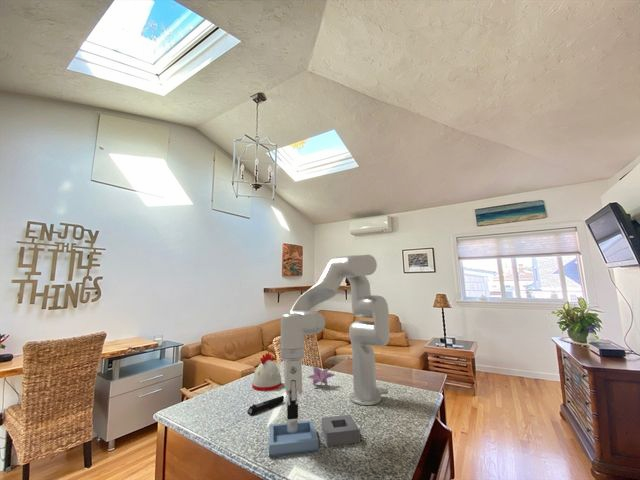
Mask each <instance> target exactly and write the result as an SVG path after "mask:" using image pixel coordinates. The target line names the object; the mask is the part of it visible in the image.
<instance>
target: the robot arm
mask: <svg viewBox="0 0 640 480" xmlns="http://www.w3.org/2000/svg"><path fill="white" fill-rule="evenodd" d="M377 264H378V263H377V260H376V258H375V257H374V256H373V255H372V254H361V255H360V254H358V255H357V254H356V255H355V254H354V255H344V256H342V255H341V256H335V257H332V258H331V259H329V261H327V263H326V265H325V266H324V269H323V271H322V272H321V274H320V276H319V278H318V280H316V283H315V284H314V285H313V286H311V287H310V288H309V289H307V290H306V291H305V292H304V293H302V294H301V295H300V296H299V297H298V299H297V300H296V301H295V302H294V304H293V305H292V307H291V309H290V310H289V312H287V313H283V314H281V317H280V360H282V361H284V363H283V365H284V366H283V368H284V370H283V372H284V374H283V375H284V387H285V392H286V396H287V395H288V404H287V403H286V420H287V419H297V420H298V419H299V403H298V394H300V395H302V394H303V379H302V378H303V377H302V376H303V373H302V372H303V371H302V360H303V359H305V337H304V336H305V335H317V334H320V333H321V332H322V331H323V330H324V328H325V326H326V318H325V316H324V315H323V314H322V313H321V312H319V311H314V310H312V309H313V308H314V307H316V306H317V305H319V304H321V303H324V302H326V301H329V300H331V299H333V298H334V297H335V296H336V294H337V293H338V290H339V288H340V286H341V284H342V282H343V280H344V279H345V278H346V279H347V281H348V283H349V284H350V295H351V296H350V297H351V298H350V299H351V312H352V314H353V316H355V317H358V318H362V319H363V318H364V319H365V318H366V319H373V321H372V320H371V321H370V320H355V321H353V322H352V323H351V324H350V325H349V329H348V334H349V335H348V336H349V339H350V345H351V353H352V376H353V377H352V381H353V392H352V393H351V394H350V396H349V398H350V401H351V402H352V403H354V404H356V405H361V406H373V405H377V404H379V403H380V402H381V400H382V396H381V395H386V394H387V395H388V394H389V390H388V388H383V387H378V386H377V374H376V373H377V372H376V355H375V354H376V353H375V351H374V349H373V347H372V346H376V347H385V346H387V345H388V344H389V341H390V337H391V335H390V334H391V331H390V329H391V328H390V315H389V314H390V313H389V306H388V305H389V304H388V302H387V300H386V298H385V297H383V296H381V295H373V294H371V286H370V285H371V284H370V281H369V279H368V277H366V276H371V275H372V274H374V273H375V272H376V270H377V266H378V265H377ZM290 396H291V397H290Z"/></svg>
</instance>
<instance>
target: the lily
mask: <svg viewBox="0 0 640 480" xmlns="http://www.w3.org/2000/svg"><path fill="white" fill-rule="evenodd" d="M312 369H313V374H311V375H308V376H307V378H308V379H312V385H313V386H315V385H316V384H319V383H320V386H321V387H320V388H321V389H323V385H322V383H323V384H324V385H328V379H329V378H332V377H335V376H336V374H334V373H331V372H328V371H329V368H327V367H326V368H324V369H323V370H322V369H320V368H319V367H317V366H313V368H312Z"/></svg>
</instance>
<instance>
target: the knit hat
mask: <svg viewBox="0 0 640 480" xmlns="http://www.w3.org/2000/svg"><path fill="white" fill-rule="evenodd" d="M259 359H260V361H261V363H260V364H258V366H257V367H256V369H254V371H253V372H254V375H253V377H252V381H251V382H252V384H251V386H252V389H253V390H254V391H258V392H259V391H260V392H270V391H274V390H277V389H279V388H281V386H282V376H281V371H280V370H279V367H278V365H277V364H276V363H275V361H273V360H274V356H272V354H270V352H267V353H265V354H262V357H260V358H259Z"/></svg>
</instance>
